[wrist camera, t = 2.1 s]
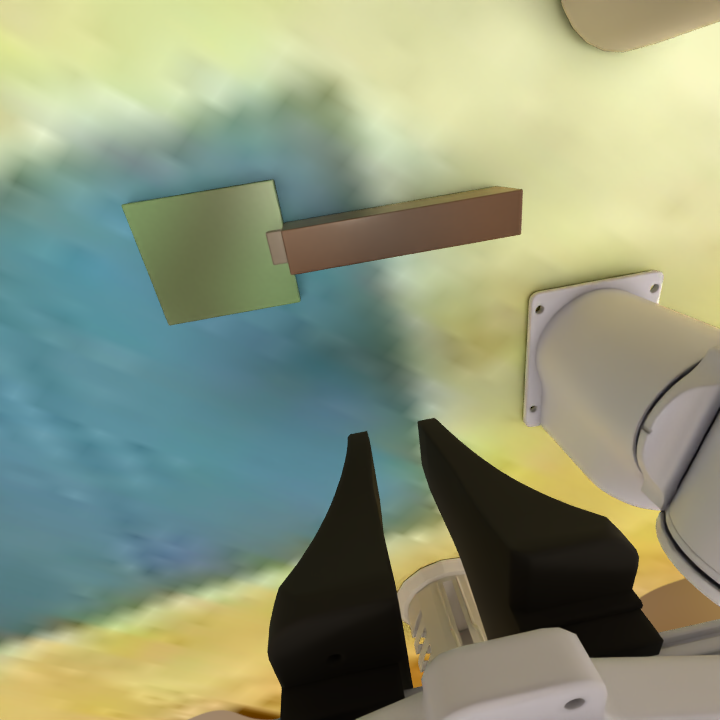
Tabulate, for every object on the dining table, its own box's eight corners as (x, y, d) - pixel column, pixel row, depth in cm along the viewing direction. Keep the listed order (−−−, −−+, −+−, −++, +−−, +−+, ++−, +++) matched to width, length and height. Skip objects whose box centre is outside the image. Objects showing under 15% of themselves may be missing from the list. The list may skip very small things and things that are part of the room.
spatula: (497, 141, 19) (525, 138, 17) (495, 263, 22) (520, 276, 20) (126, 203, 19) (98, 209, 16) (172, 322, 21) (154, 342, 19)
